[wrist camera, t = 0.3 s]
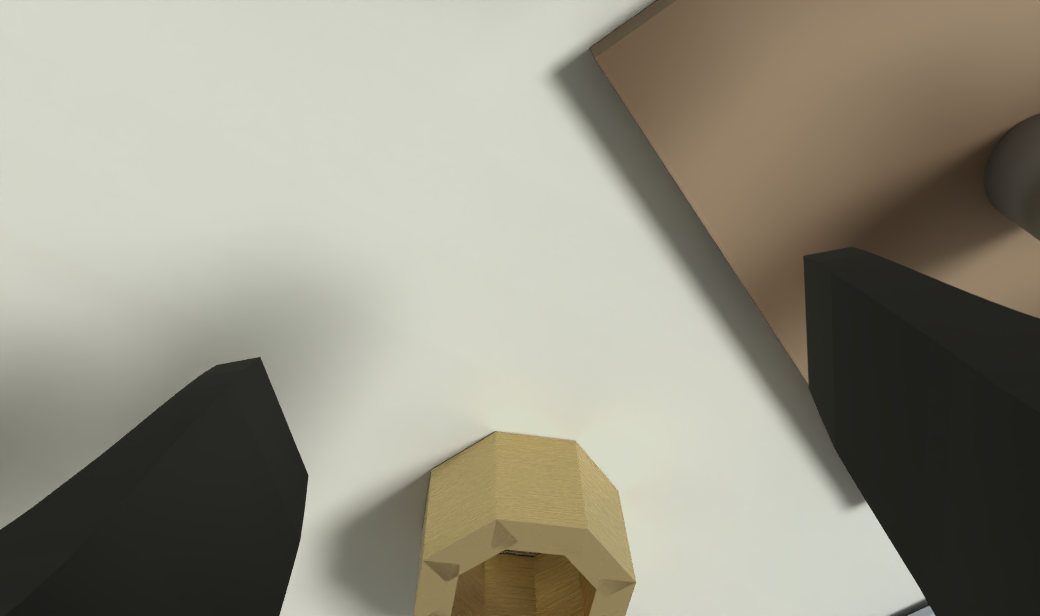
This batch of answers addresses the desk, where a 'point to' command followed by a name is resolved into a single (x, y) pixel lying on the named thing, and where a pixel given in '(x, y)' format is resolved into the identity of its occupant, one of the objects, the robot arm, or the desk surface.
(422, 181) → the desk surface
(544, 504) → the wooden ring
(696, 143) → the post board
